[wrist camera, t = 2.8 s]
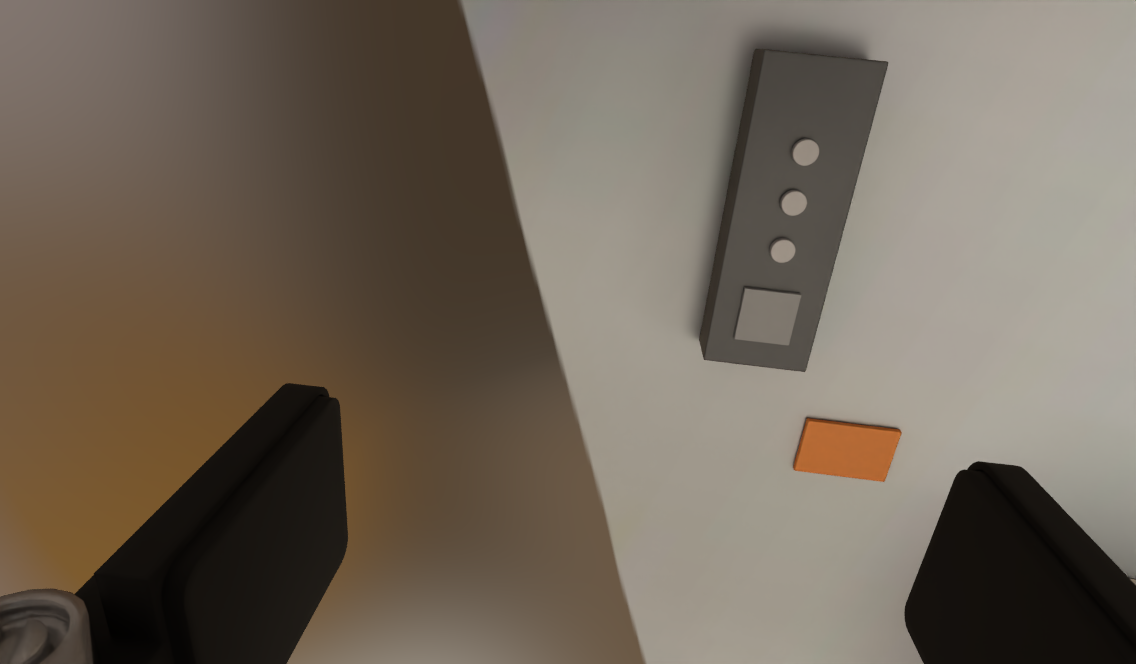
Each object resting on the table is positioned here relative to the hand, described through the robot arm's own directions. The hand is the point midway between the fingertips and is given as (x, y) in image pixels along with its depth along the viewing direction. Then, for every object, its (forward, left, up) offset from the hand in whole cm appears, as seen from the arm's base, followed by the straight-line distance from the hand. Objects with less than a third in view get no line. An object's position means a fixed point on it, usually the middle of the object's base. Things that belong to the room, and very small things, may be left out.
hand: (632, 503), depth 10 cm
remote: (0, +6, -21) cm, 22 cm away
